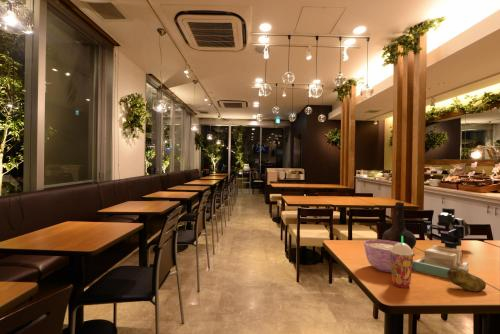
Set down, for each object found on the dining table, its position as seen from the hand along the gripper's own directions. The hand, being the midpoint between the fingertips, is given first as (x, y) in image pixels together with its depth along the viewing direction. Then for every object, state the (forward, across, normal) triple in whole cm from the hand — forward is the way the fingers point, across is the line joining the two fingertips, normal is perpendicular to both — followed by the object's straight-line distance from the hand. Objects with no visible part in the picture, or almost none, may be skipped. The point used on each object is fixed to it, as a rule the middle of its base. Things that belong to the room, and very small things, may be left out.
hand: (438, 231), depth 153 cm
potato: (+27, +17, +17) cm, 36 cm away
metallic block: (+2, +3, +17) cm, 17 cm away
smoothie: (+43, -2, +17) cm, 46 cm away
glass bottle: (-12, -23, +17) cm, 31 cm away
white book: (+7, +3, +16) cm, 18 cm away
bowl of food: (+27, -14, +17) cm, 35 cm away
